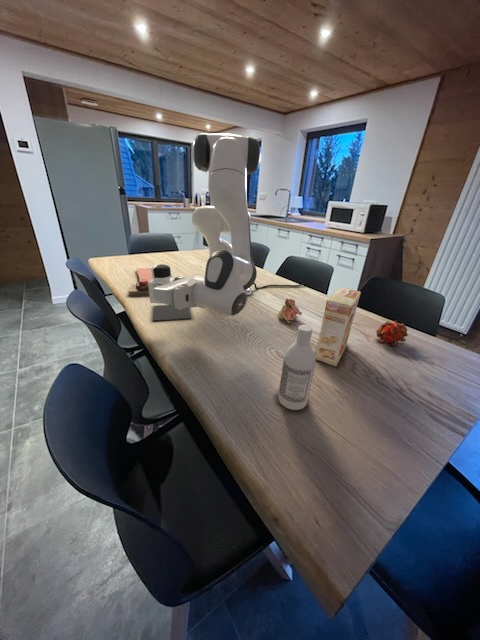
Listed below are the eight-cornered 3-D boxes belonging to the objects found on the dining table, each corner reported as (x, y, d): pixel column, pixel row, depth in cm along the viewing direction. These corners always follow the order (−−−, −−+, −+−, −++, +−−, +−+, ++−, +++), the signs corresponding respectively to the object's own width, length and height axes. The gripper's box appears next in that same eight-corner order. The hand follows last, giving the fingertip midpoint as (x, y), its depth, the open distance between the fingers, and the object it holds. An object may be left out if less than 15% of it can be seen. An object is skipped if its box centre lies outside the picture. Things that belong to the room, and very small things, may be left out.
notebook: (174, 283, 139) (174, 279, 138) (141, 286, 132) (140, 282, 131) (165, 269, 161) (165, 266, 160) (136, 271, 154) (136, 268, 153)
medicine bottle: (176, 296, 94) (174, 263, 89) (171, 304, 88) (168, 269, 82) (156, 295, 94) (153, 262, 89) (150, 303, 88) (145, 268, 83)
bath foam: (287, 387, 69) (298, 317, 60) (311, 400, 65) (327, 328, 56) (272, 400, 64) (282, 327, 55) (297, 415, 60) (313, 339, 51)
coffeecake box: (336, 367, 78) (352, 306, 69) (313, 358, 81) (325, 299, 72) (347, 345, 89) (362, 291, 81) (326, 339, 93) (338, 286, 84)
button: (148, 283, 126) (147, 278, 125) (147, 285, 123) (147, 281, 122) (139, 283, 125) (139, 279, 124) (138, 286, 122) (138, 281, 121)
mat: (188, 305, 114) (188, 304, 114) (191, 319, 102) (191, 318, 101) (154, 306, 110) (154, 305, 110) (153, 321, 98) (152, 320, 98)
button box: (157, 287, 131) (157, 280, 130) (157, 294, 123) (156, 286, 121) (132, 288, 128) (131, 280, 127) (129, 296, 120) (128, 287, 118)
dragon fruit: (402, 344, 95) (375, 353, 92) (390, 324, 98) (363, 331, 96) (419, 335, 88) (390, 344, 85) (405, 313, 91) (377, 321, 88)
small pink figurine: (276, 324, 102) (271, 302, 105) (287, 328, 110) (282, 307, 113) (298, 317, 97) (292, 294, 100) (308, 322, 105) (302, 300, 108)
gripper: (218, 274, 88) (187, 267, 95) (173, 290, 72) (139, 280, 79) (217, 292, 91) (188, 283, 97) (174, 311, 75) (142, 299, 82)
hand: (166, 282), depth 88 cm, fingers closed on medicine bottle, 8 cm apart
